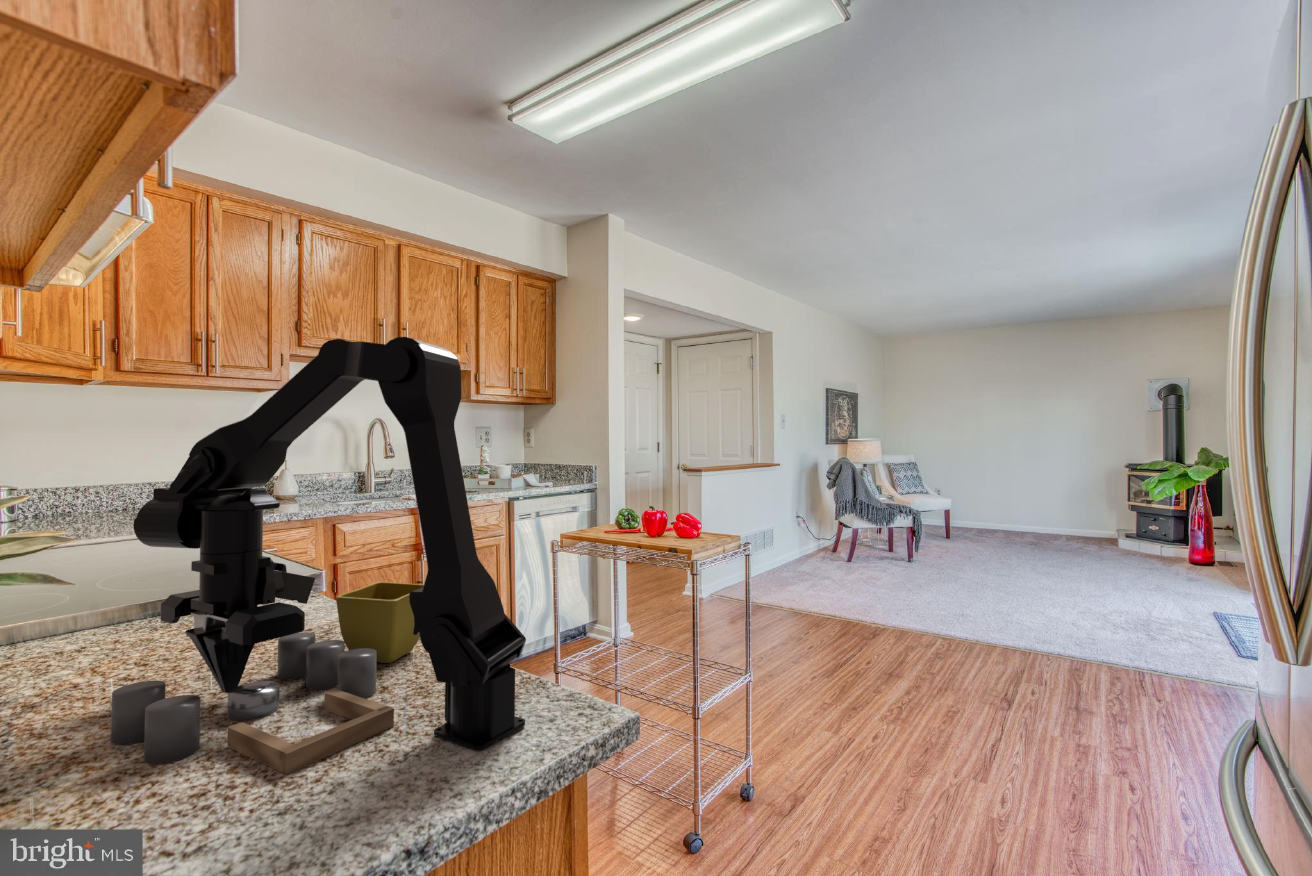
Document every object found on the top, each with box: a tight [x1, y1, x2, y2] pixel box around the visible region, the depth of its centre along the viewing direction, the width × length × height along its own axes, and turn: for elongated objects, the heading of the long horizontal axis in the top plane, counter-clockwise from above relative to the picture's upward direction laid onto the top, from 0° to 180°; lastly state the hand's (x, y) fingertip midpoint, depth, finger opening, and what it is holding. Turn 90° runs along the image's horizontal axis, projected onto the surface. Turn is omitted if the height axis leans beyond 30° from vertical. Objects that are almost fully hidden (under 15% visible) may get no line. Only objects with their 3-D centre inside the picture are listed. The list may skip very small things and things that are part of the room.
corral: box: [227, 688, 395, 776], centre depth 59 cm, size 10×11×2 cm
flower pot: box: [335, 581, 424, 664], centre depth 82 cm, size 9×9×9 cm
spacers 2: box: [277, 631, 377, 699], centre depth 73 cm, size 16×4×4 cm, turn 60°
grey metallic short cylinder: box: [226, 680, 280, 723], centre depth 65 cm, size 5×5×3 cm
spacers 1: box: [110, 680, 202, 765], centre depth 58 cm, size 11×4×4 cm, turn 60°
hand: (229, 691), depth 67 cm, fingers closed
